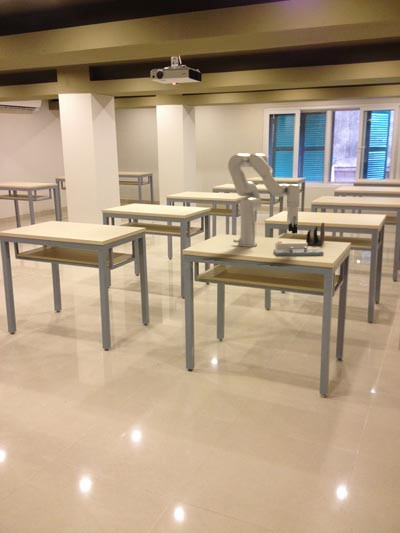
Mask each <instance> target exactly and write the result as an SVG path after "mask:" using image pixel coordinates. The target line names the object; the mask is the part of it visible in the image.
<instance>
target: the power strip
mask: <svg viewBox="0 0 400 533" xmlns="http://www.w3.org/2000/svg"><path fill="white" fill-rule="evenodd" d="M274 244H275V245H274V249H290V247H293V249H304V247H307V248H308V246H307V245H308V243H306V241H275V243H274Z"/></svg>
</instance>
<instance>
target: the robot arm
mask: <svg viewBox="0 0 400 533" xmlns="http://www.w3.org/2000/svg"><path fill="white" fill-rule="evenodd" d="M268 161H269V160H268V157H267V155H265V154H264V153H236V154H233V155H231V157H230V158H229V160H228V162H227V163H228V164H227V167H228V168H227V169H228V172H229V175H230V177H231V179H232V182H233V185H234V188H235V190H236V194H237V195H238V196H239V197H245V198H243V199H241V201H240V202H239V212H240V237H239V238H238V239H235V238H234V239H233V243H237V245H238V246H239V247H244V248H251V247H257V246H258V243H257V242H255V240H256V214H255V212H256V211H259V210H260V209H261V207H262V199H261V197H260V193H259V191H258V188H257V185H256V184H255V182H253V181H252V180H251V181H250V180H247V178H246V174H245V172H244V171H243V170H242V168H249V167H250V168H253V170H254V171H255V172H256V173H257V175H258V176H259V177H260V178H261V179H262V182H263V184H264V186H265V188H266V189H267V190H268V191H269V192H270V194H271V195H272V196H273V197H275V198H278V197H279V198H280V197H286V208H287V214H286V215H287V217H286V222H287V223H288V232H291V234H298V222H299V208H300V185H299V184H297V183H296V184H294V183H293V184H288V183H278V182H277V181H276V180H275V178H274V177H273V172H274V169H273V168H272V167H271V166H270V164H268Z"/></svg>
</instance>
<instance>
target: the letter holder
mask: <svg viewBox="0 0 400 533" xmlns="http://www.w3.org/2000/svg"><path fill="white" fill-rule="evenodd" d="M311 232H312V231H311V229H309V230H307V233H306V241H305V242H306V243H308V245H307V247H322V245H323V243H324V242H325V239H324V238H325V222H322V223H321V225H320V239H319V237H318V236H319V235H318V226H315V228H314V230H313V239H312V238H311Z"/></svg>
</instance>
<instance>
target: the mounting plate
mask: <svg viewBox="0 0 400 533" xmlns="http://www.w3.org/2000/svg"><path fill="white" fill-rule="evenodd" d="M273 253H274V255H275V256H276V257H296V256H298V257H299V256H300V257H301V256H302V257H303V256H305V257H309V256H314V257H315V256H316V257H317V256H324V253H325V252H324V251H322V250H321V249H319V248H308V246H307V247H304V249H293V247H290V249H275V248H274V249H273Z"/></svg>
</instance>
